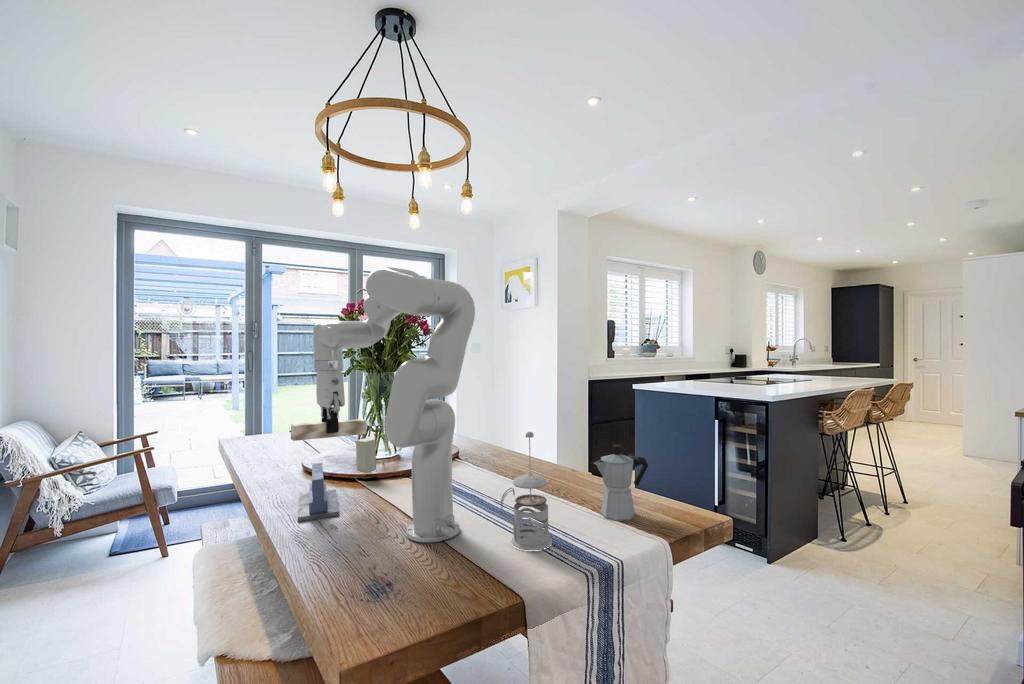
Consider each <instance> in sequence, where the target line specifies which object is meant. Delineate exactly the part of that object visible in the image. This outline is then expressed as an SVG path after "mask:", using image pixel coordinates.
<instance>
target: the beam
mask: <svg viewBox="0 0 1024 684" xmlns="http://www.w3.org/2000/svg"><path fill="white" fill-rule="evenodd" d="M367 420H368V419H365V418H364V419H363V418H359V419H358V418H357V419H345V420H338V427H339V431H338V432H337V433H330V434H328V433H326V422H322V421H317V422H305V423H303V422H302V423H294V424H293V423H291V424H290V440H292V441H294V442H295V441H296V442H298V441H306V440H307V441H308V440H317V439H318V440H319V439H327V438H338V437H348V436H350V437H351V436H357V435H358V436H360V435H367V427H368V421H367Z"/></svg>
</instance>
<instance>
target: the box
mask: <svg viewBox="0 0 1024 684" xmlns="http://www.w3.org/2000/svg"><path fill="white" fill-rule="evenodd" d="M376 450H377V449H376V439H374V438H361V439H356V441H355V451H356V452H355V454H356V456H355V457H356V472H357V471H360V472H365V473H368V472H371V471H374V470H376V471H377V456H376V454H377V453H376Z"/></svg>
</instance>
